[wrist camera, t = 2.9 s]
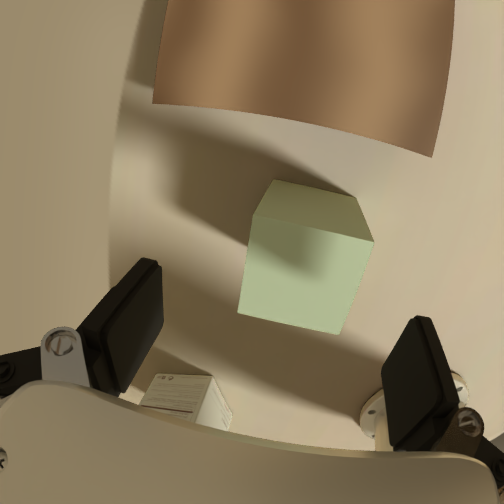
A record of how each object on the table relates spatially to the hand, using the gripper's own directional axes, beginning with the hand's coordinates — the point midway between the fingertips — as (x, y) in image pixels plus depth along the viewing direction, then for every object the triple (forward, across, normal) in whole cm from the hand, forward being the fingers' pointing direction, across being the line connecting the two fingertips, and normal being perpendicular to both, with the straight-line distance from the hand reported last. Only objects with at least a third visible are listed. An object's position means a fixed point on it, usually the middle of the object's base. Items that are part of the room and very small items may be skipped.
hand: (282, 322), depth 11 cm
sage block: (+11, -1, +1) cm, 11 cm away
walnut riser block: (+11, +1, -13) cm, 17 cm away
